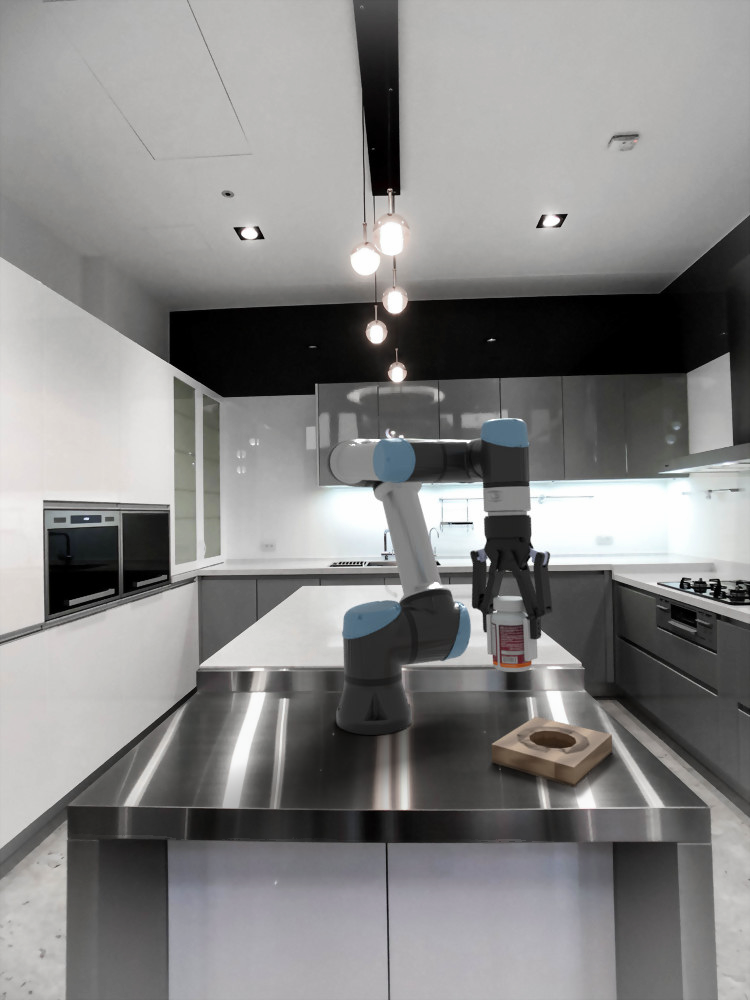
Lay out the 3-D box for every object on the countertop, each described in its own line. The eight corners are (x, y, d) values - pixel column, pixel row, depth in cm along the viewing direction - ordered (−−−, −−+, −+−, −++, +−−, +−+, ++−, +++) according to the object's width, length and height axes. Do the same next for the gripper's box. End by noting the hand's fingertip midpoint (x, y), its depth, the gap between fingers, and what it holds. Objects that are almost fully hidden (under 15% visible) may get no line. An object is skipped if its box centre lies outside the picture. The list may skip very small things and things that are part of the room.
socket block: (492, 762, 96) (491, 744, 96) (535, 732, 108) (535, 716, 108) (574, 787, 86) (573, 767, 86) (612, 752, 98) (611, 734, 98)
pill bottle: (539, 668, 92) (537, 598, 93) (511, 675, 89) (509, 602, 90) (512, 661, 98) (510, 594, 98) (484, 666, 95) (482, 597, 95)
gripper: (446, 515, 98) (450, 651, 98) (550, 512, 85) (556, 670, 84) (471, 514, 104) (476, 643, 103) (573, 512, 90) (578, 660, 90)
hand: (512, 655), depth 94 cm, fingers closed on pill bottle, 6 cm apart
